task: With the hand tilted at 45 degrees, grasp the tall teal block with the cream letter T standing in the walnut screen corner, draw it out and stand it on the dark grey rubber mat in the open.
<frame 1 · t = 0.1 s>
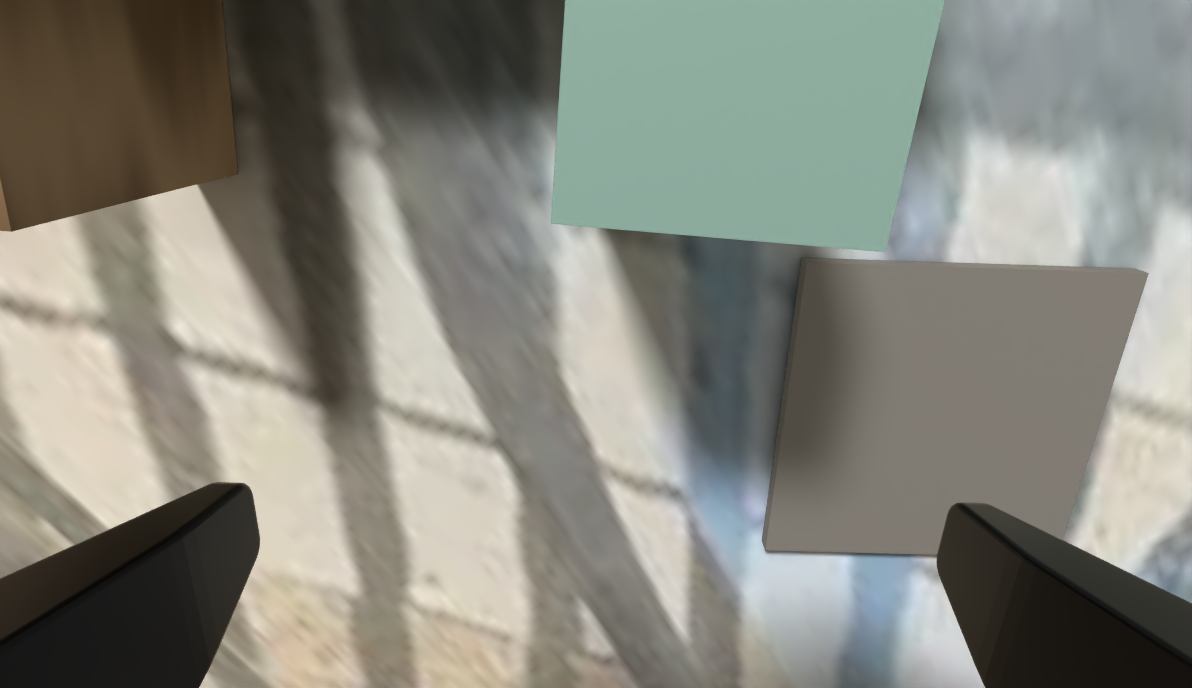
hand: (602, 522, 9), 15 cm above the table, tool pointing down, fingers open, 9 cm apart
block: (662, 70, 21), on the table
mat: (934, 414, 25), on the table
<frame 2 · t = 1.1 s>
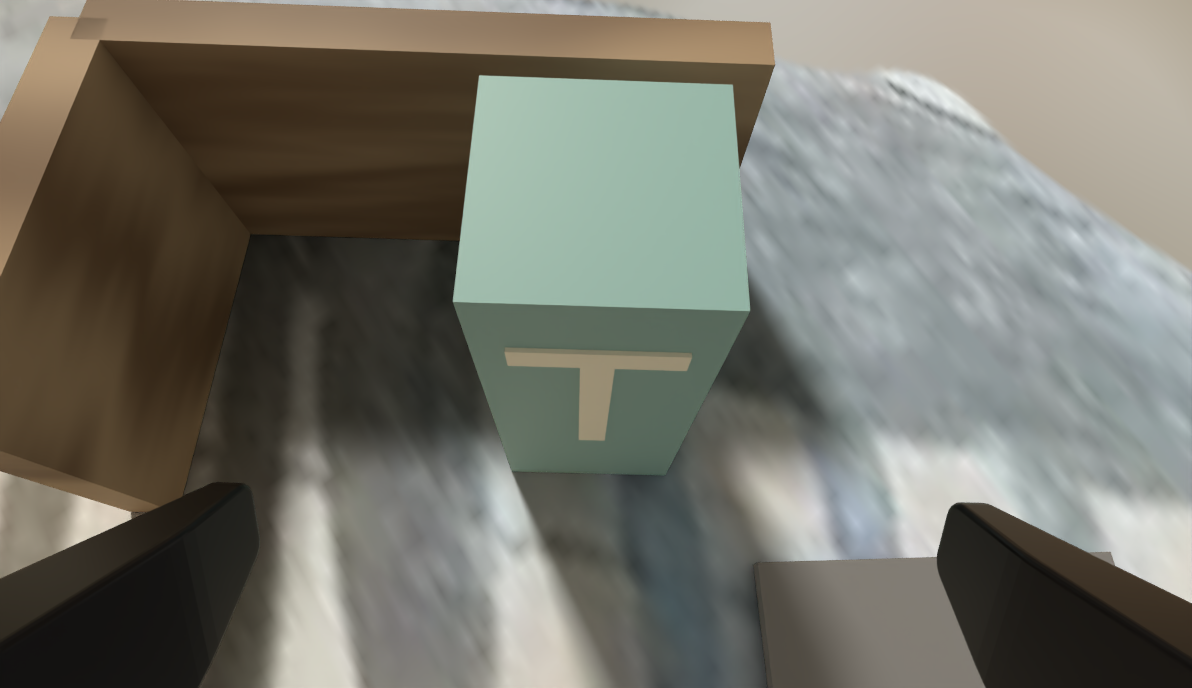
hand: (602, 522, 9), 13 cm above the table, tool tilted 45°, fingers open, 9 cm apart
block: (590, 400, 24), on the table
screen: (593, 228, 26), on the table
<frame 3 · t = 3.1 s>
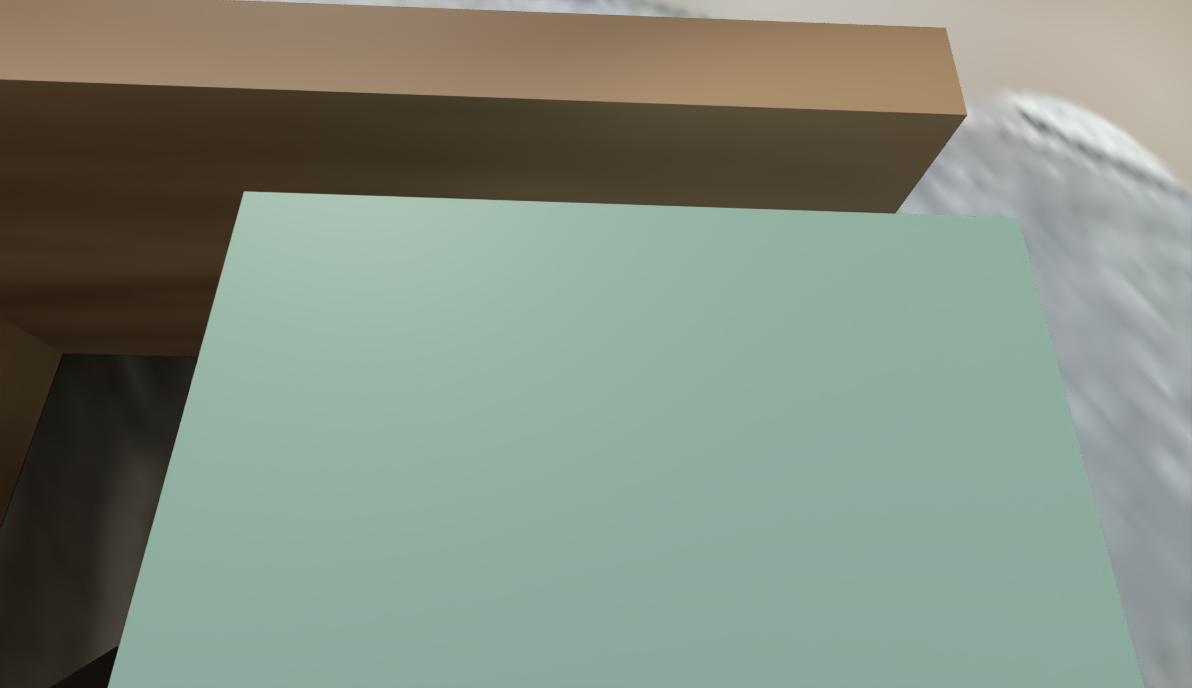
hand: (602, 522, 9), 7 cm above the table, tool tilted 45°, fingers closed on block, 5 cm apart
block: (589, 644, 14), on the table, touching gripper
screen: (593, 341, 17), on the table
when the fingers open (8 cm above the table, at t = 7.0 s): block stays where it is, resting on mat.
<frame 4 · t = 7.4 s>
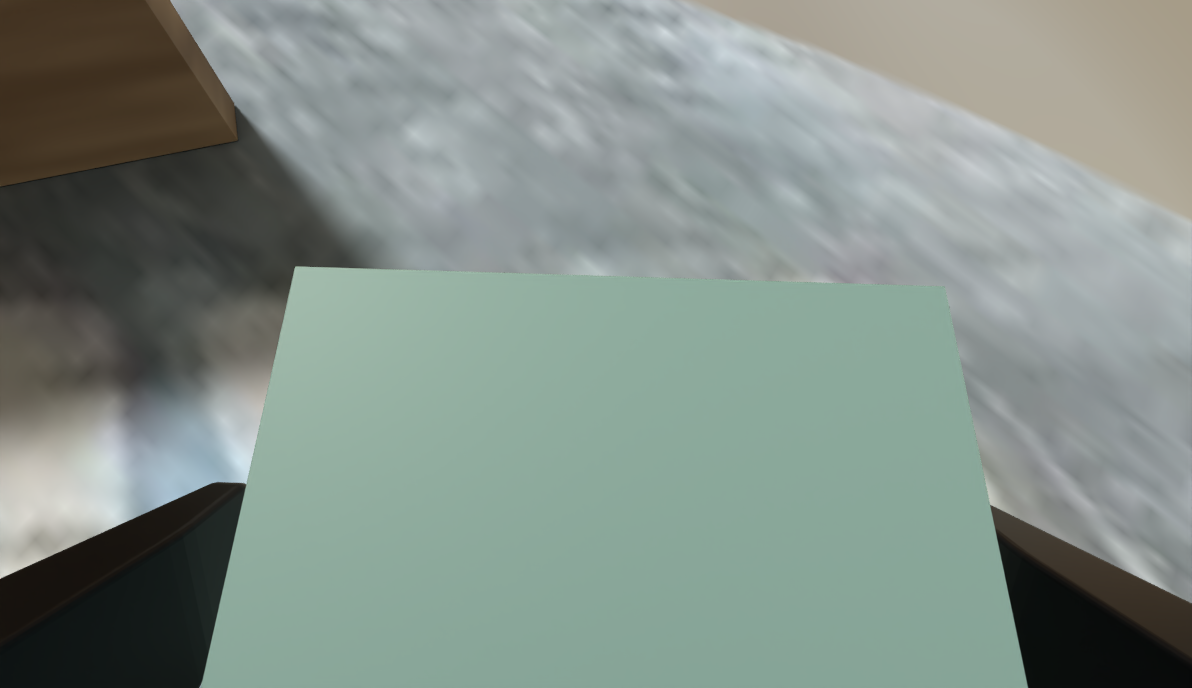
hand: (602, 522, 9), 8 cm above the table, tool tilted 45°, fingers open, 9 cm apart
block: (588, 643, 15), point 1 cm above the table, touching mat
screen: (82, 151, 21), on the table
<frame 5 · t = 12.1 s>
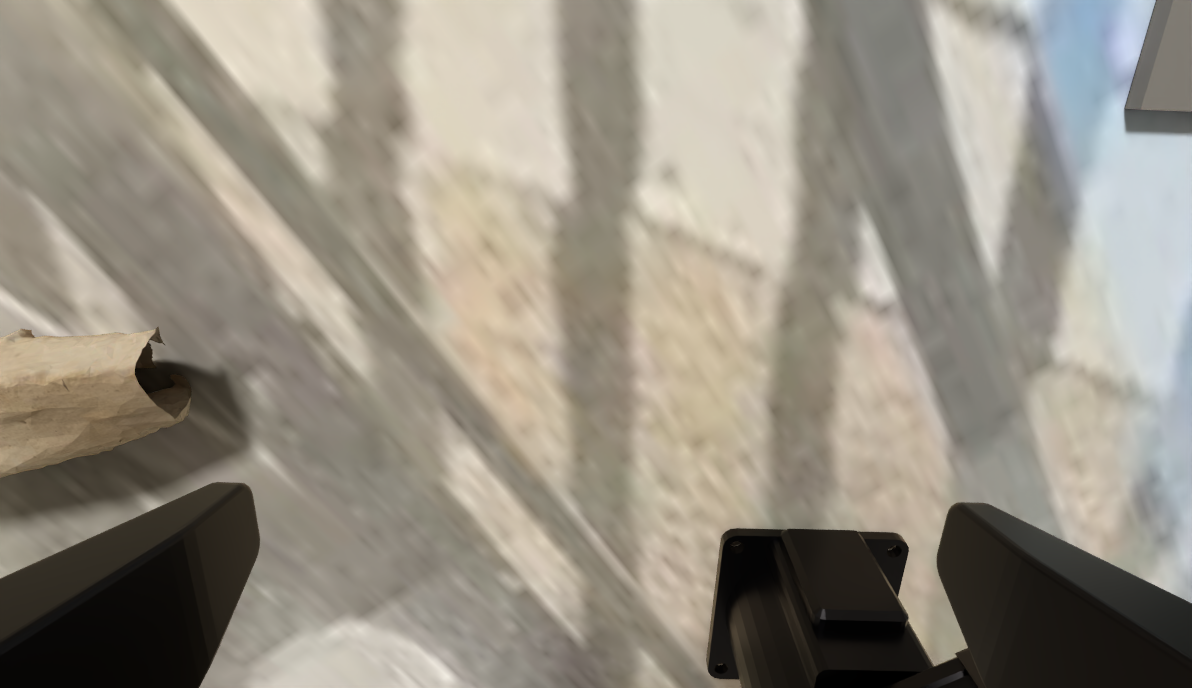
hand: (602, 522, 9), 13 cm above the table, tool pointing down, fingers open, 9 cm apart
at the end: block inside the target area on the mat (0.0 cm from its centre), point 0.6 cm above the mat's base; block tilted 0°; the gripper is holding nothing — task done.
